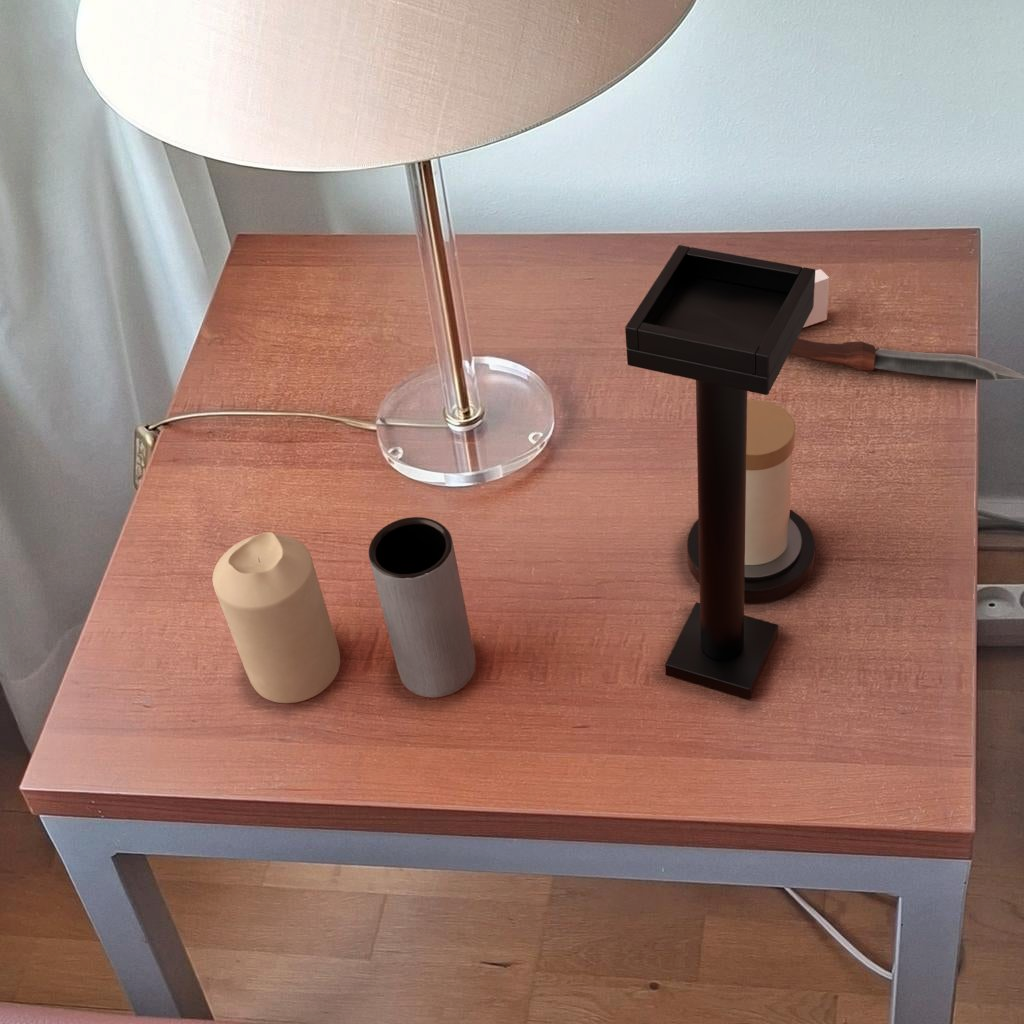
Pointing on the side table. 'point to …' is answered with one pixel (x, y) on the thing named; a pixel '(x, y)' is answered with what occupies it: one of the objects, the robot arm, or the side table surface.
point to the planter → (423, 605)
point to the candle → (277, 617)
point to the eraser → (819, 299)
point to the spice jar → (767, 481)
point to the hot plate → (770, 564)
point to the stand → (721, 430)
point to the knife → (903, 361)
